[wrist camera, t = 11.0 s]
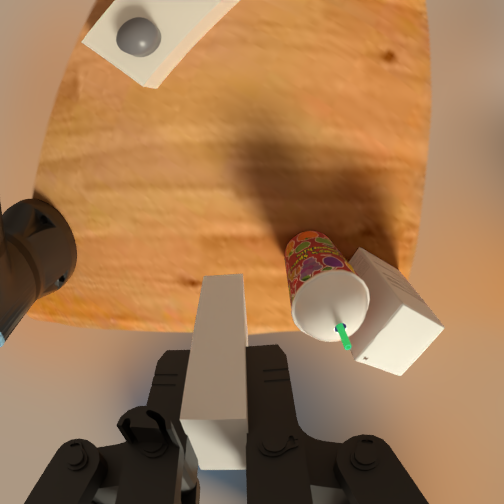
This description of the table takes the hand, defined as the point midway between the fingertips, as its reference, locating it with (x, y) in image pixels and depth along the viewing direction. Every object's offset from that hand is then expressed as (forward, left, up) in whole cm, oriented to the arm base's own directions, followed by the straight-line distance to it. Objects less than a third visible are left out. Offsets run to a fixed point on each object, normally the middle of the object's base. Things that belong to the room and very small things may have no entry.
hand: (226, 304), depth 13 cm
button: (-9, +16, -23) cm, 30 cm away
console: (-4, +23, -29) cm, 38 cm away
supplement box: (+18, -18, -30) cm, 39 cm away
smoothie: (+9, -12, -30) cm, 33 cm away
